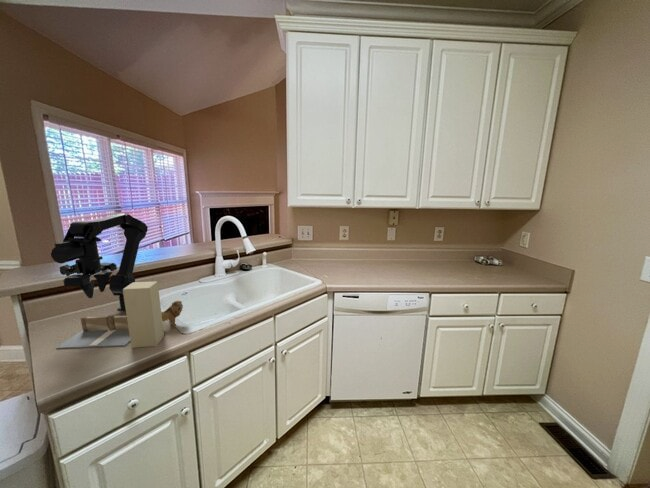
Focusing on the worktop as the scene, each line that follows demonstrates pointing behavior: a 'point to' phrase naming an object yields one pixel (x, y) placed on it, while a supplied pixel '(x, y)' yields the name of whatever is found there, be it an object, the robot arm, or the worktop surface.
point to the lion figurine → (172, 312)
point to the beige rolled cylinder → (94, 323)
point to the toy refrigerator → (143, 313)
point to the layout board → (97, 339)
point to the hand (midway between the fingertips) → (96, 294)
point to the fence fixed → (117, 322)
